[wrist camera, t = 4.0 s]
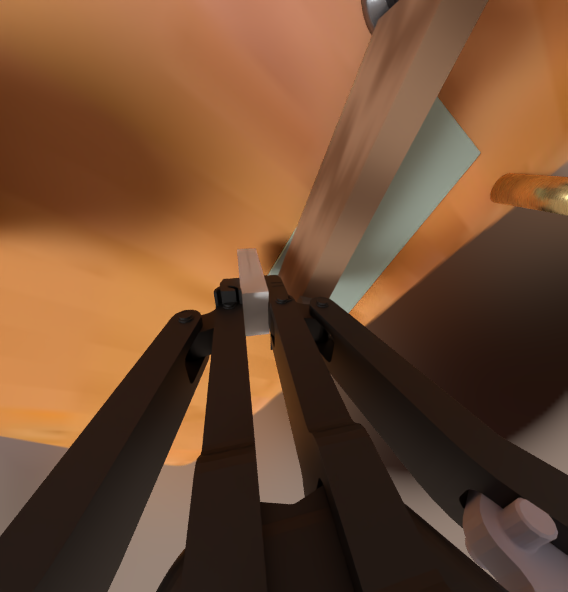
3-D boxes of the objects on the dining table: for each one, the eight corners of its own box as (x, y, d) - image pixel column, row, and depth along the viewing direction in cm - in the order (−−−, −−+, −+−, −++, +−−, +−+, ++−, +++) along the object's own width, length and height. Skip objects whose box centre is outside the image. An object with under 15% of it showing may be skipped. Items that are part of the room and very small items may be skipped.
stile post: (509, 167, 20) (627, 172, 14) (520, 183, 20) (635, 194, 15) (486, 193, 20) (587, 209, 15) (497, 207, 21) (597, 227, 16)
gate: (375, 17, 12) (500, -104, 7) (404, 41, 13) (539, -49, 7) (274, 279, 20) (291, 330, 14) (296, 284, 21) (321, 336, 15)
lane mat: (400, 54, 14) (403, 52, 14) (477, 153, 18) (480, 153, 18) (253, 299, 22) (253, 301, 21) (331, 330, 26) (332, 332, 25)
